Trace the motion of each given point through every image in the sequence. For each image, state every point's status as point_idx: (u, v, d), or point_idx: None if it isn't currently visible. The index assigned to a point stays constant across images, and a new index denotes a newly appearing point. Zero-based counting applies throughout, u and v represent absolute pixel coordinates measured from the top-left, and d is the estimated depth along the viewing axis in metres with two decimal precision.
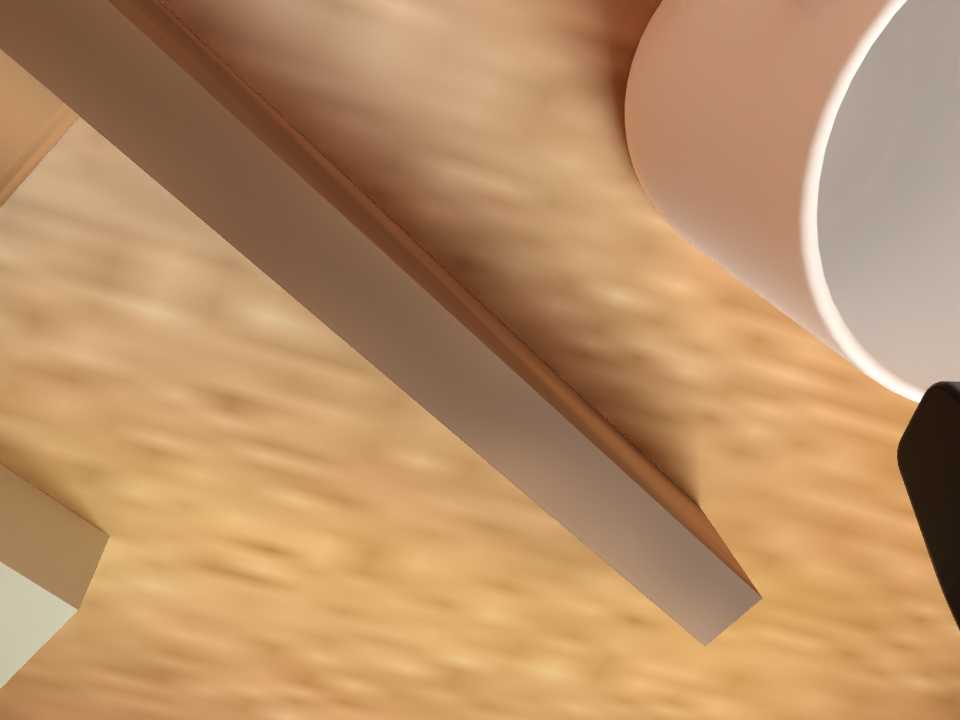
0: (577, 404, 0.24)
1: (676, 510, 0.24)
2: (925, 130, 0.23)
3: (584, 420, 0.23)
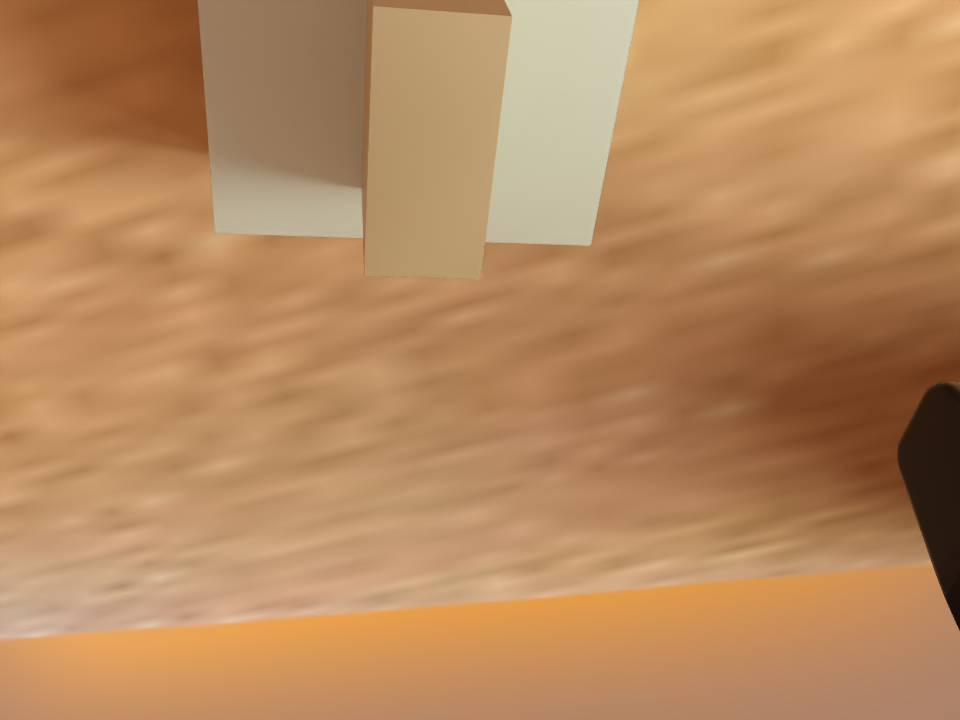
0: None
1: None
2: None
3: None
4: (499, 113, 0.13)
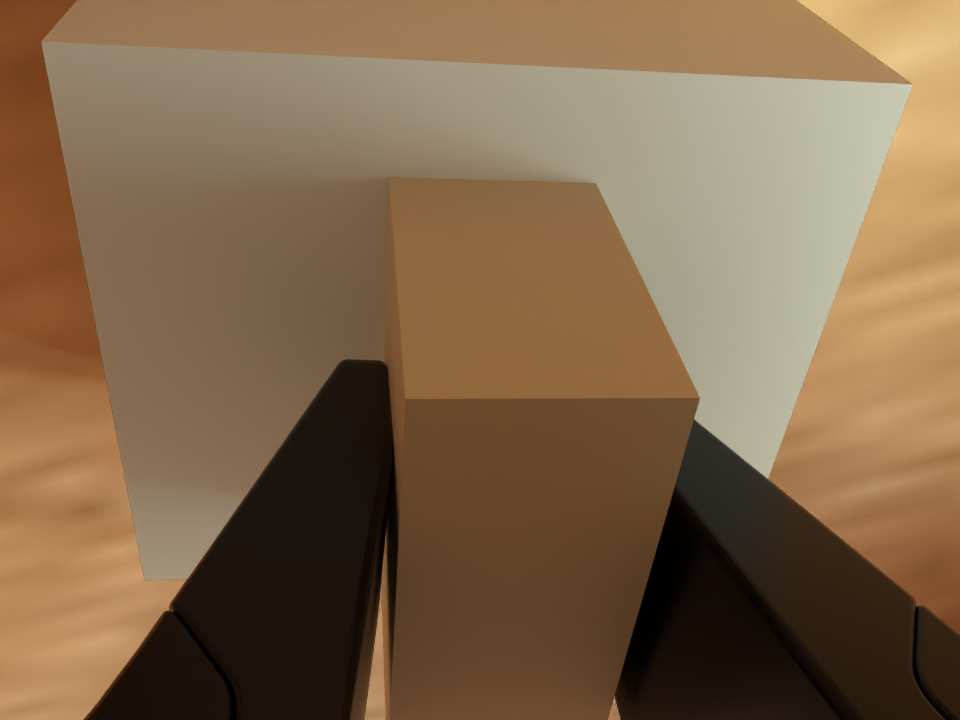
0: None
1: None
2: None
3: None
4: (653, 546, 0.06)
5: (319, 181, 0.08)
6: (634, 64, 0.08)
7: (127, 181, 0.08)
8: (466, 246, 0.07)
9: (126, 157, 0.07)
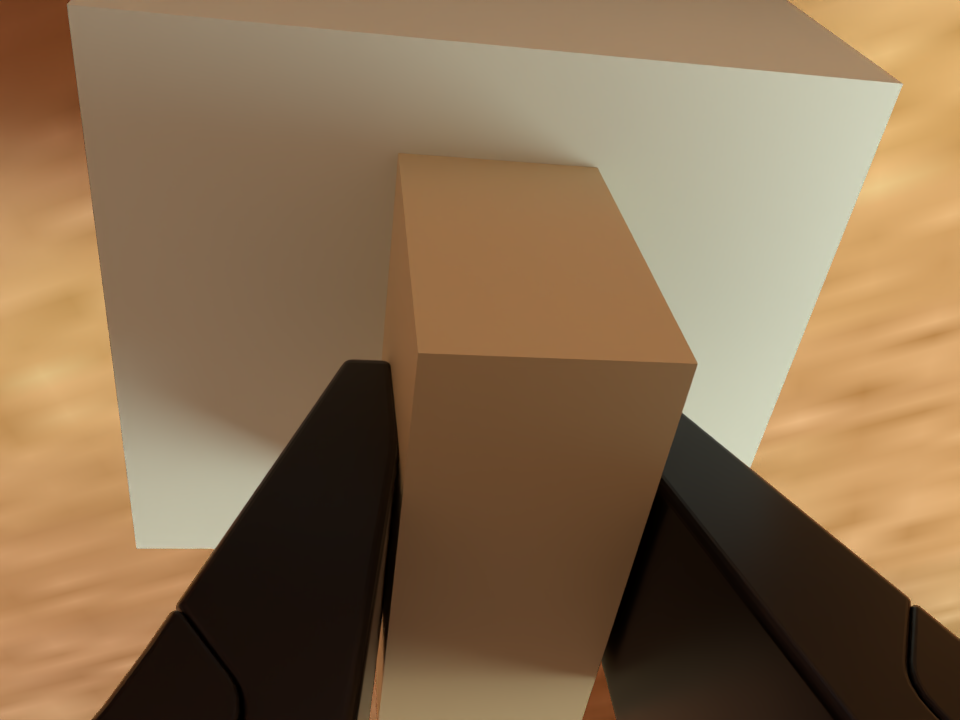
0: None
1: None
2: None
3: None
4: (645, 510, 0.07)
5: (330, 154, 0.08)
6: (639, 53, 0.08)
7: (143, 146, 0.08)
8: (473, 219, 0.07)
9: (143, 123, 0.08)
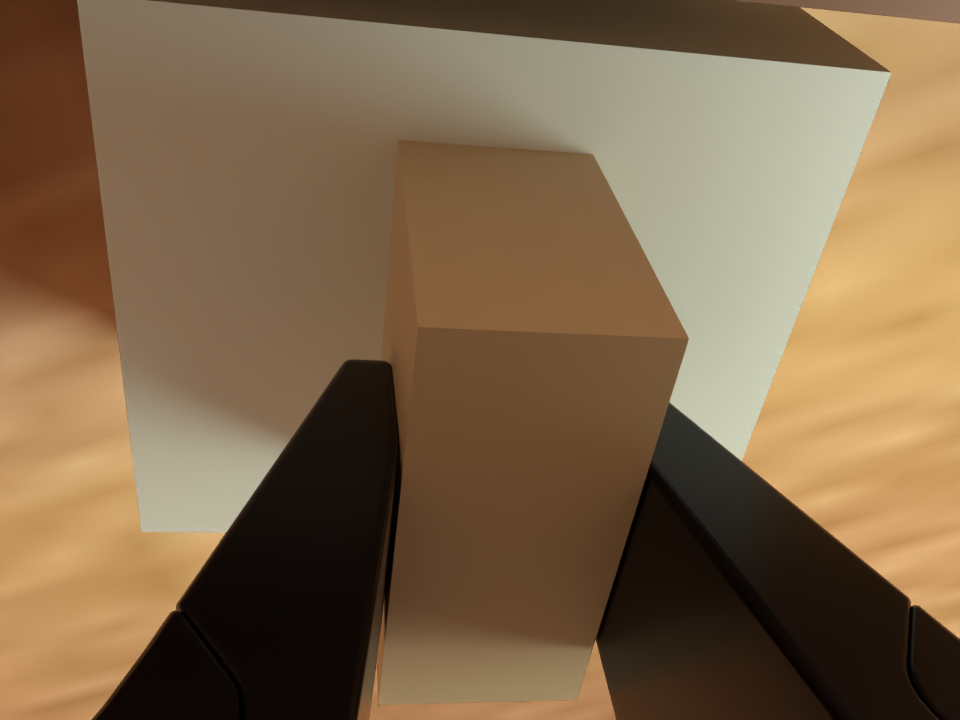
0: None
1: None
2: None
3: None
4: (640, 485, 0.07)
5: (330, 140, 0.08)
6: (634, 42, 0.08)
7: (149, 133, 0.08)
8: (472, 202, 0.07)
9: (151, 111, 0.08)
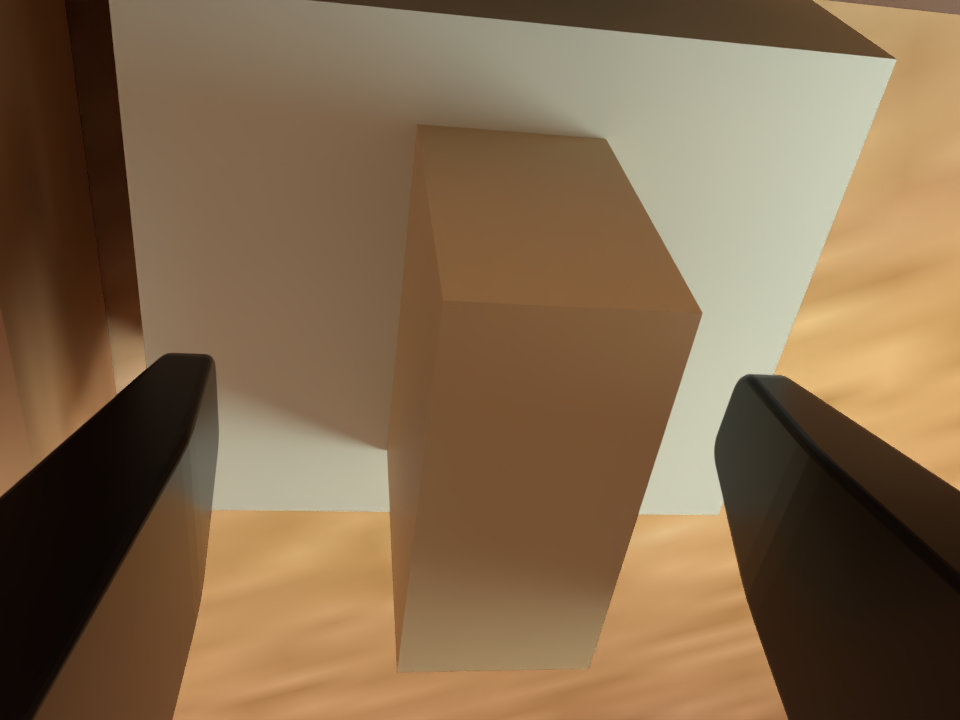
0: None
1: None
2: None
3: None
4: (653, 457, 0.07)
5: (352, 124, 0.08)
6: (647, 28, 0.08)
7: (175, 116, 0.08)
8: (490, 184, 0.08)
9: (177, 93, 0.08)
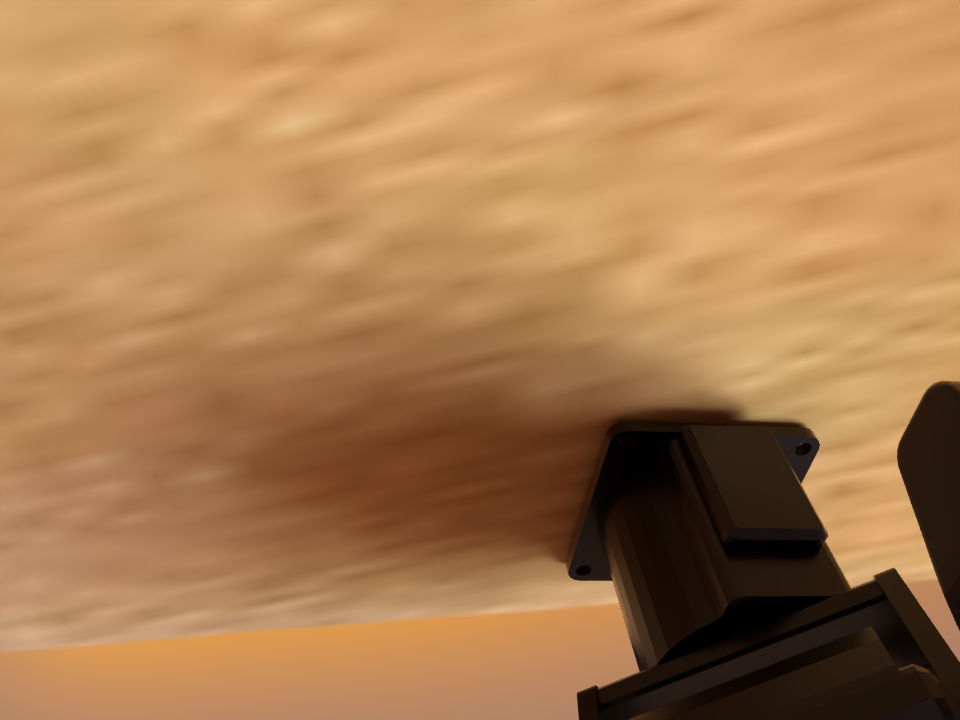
0: None
1: None
2: None
3: None
4: None
5: None
6: None
7: None
8: None
9: None
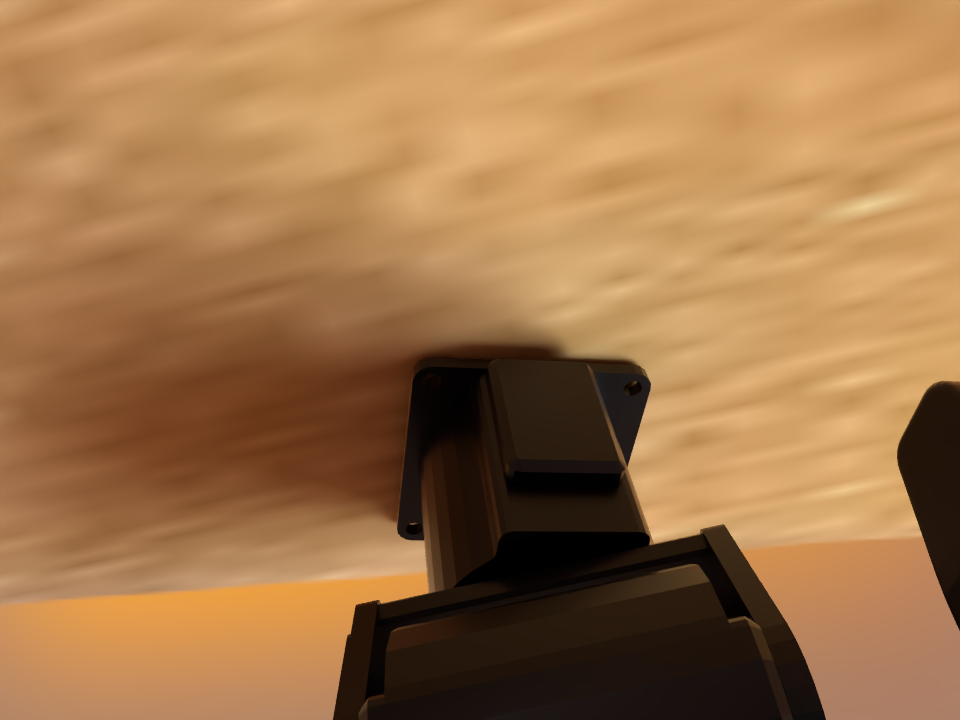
0: None
1: None
2: None
3: None
4: None
5: None
6: None
7: None
8: None
9: None
